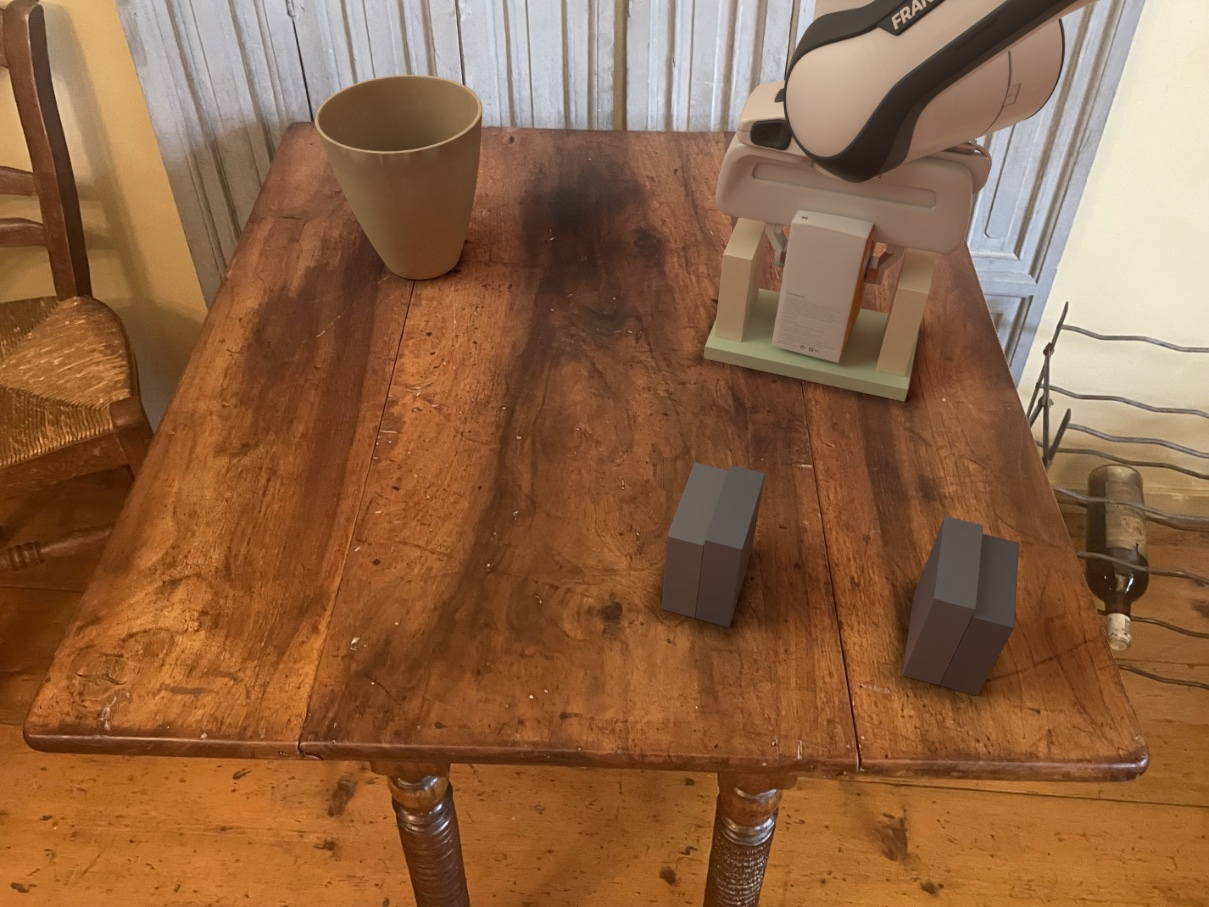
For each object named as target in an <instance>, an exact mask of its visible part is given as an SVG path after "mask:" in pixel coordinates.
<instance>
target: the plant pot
mask: <svg viewBox="0 0 1209 907" xmlns="http://www.w3.org/2000/svg"><path fill="white" fill-rule="evenodd" d="M314 124H315V128H316V130H317V133H318V135H319V138H320V141H321V143H322V147H323V148H324V151H325V154H326V156H327V159H328V161H329V164H330V166H331V168H332V172H333V174H334V176H335V178H336V180H337V183H338V185H339V187H340V189H341V191H342V193H343V195H344V197H345V199H346V202H347V204H348V205H349V207H350V209H351V211H352V213H353V214H354V216H355V218H356V220H357V222H358V224H359V225H360V227H361V229H362V230H363V232H364V234H365V236H366V237H367V239H368V241H369V242H370V243H371V245H372V247H373V248H374V250H375V252H377V254H378V256H379V257H380V258H381V260H382V261H383V263H384V264H385V266H386V267H387V268H388V270H389V271H390V272H391V273H392V274H394V275H396V276H398V277H400V278H404V279H407V280H408V279H409V280H417V281H418V280H430V279H435V278H438V277H441V276H442V275H445V274H446V273H448V272H450V271H451V270H452V269H454V268H455V266H456V265H457V264H458V262H459V260H460V257H461V255H462V254H461V253H462V250H463V247H464V244H465V241H466V236H467V234H468V229H469V225H470V221H471V216H472V212H473V207H474V202H475V196H476V190H477V184H478V175H479V170H480V169H479V168H480V157H481V156H480V155H481V147H482V146H481V145H482V143H481V142H482V125H483V103H482V101H481V99H480V97H479V95H477V94H476V92H475V91H473V90H472V89H471V88H469V87H468V86H467V85H465V84H464V83H463V84H462V83H460V82H458V81H456V80H453V79H448V78H445V77H440V76H435V75H434V76H433V75H424V74H396V75H395V74H394V75H387V76H381V77H375V78H371V79H367V80H362V81H360V82H357V83H354V84H352V85H349V86H346V87H344V88H342V89H340V90H339V91H336V92H335V93H333V94H332V95H331V96H329V97H327V98H326V100H324V101H323V102H322V103H321V105H320V106H319V107H318V109H317V111H316V113H315V116H314Z"/></svg>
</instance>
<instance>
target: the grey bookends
mask: <svg viewBox="0 0 1209 907" xmlns="http://www.w3.org/2000/svg"><path fill="white" fill-rule="evenodd" d="M765 478H766V472H761V471H758V470H753V469H749V468H745V467H742V466H741V467H740V466H737V465H732V464H730V465H729V467H728V469H724V468H720V467H716V466H712V465H709V464H708V465H707V464H703V463H699V462H693V466H692V468H691V471H690V473H689V476H688V478H687V481H686V484H685V487H684V489H683V492H682V495H681V497H680V500H679V503H678V506H677V508H676V511H675V514H674V516H673V519H672V521H671V524H670V526H669V527H670V528H669V530H668V533H667V537H666V546H665V547H666V548H665V549H666V550H665V560H664V574H663V588H662V598H661V600H662V601H661V610H663V611H667V612H671V613H674V614H678V615H680V616H681V615H682V616H684V617H688V618H693V619H696V620H700V621H703V622H707V623H711V624H715V625H718V626H721V627H724V628H728V629H729V628H731V624H732V620H733V617H734V614H735V610H736V607H737V603H738V600H739V597H740V594H741V591H742V586H743V583H744V579H745V577H746V573H747V570H748V566H749V563H750V560H751V556H752V550H753V545H754V540H755V535H756V530H757V529H756V528H757V523H758V517H759V513H760V512H759V511H760V506H761V501H762V495H763V488H764V483H765ZM983 532H984V525H983V524H980V523H977V522H972V521H967V520H963V519H959V518H955V517H951V516H947V515H944V517H943V518H942V521H941V524H940V526H939V529H938V532H937V534H936V536H935V539H934V542H933V544H932V547H931V548H930V549H931V550H930V552H929V555H928V557H927V560H926V562H925V565H924V568H923V570H922V572H921V574H920V578H919V580H918V583H917V585H916V588H915V590H914V593H913V597H912V604H911V609H910V611H911V612H910V617H909V623H908V630H907V636H906V645H905V651H904V657H903V658H904V659H903V666H902V673H901V676H903V677H907V678H910V679H914V680H917V681H921V682H924V683H927V684H932V685H936V686H940V687H943V688H946V689H950V690H953V691H957V692H962V693H966V694H969V695H971V696H975V697H976V696H977V697H978V696H979V695H980V692H981V691H982V689H983V687H984V685H985V683H986V681H987V679H988V677H989V676H990V674H991V672H992V670H993V668H994V666H995V664H996V663H997V661H998V659H999V657H1000V656H1001V653H1002V651H1003V650H1004V648H1005V646H1006V644H1007V642H1008V640H1009V638H1010V637H1011V635H1012V633H1013V631H1014V629H1015V624H1016V606H1017V587H1018V570H1019V569H1018V568H1019V553H1020V542H1019V541H1014V540H1011V539H1007V538H1003V537H997V536H993V535H989V534H987V533H986V534H985V533H983Z"/></svg>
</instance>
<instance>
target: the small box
mask: <svg viewBox="0 0 1209 907" xmlns="http://www.w3.org/2000/svg"><path fill="white" fill-rule="evenodd" d="M874 227H875V224H874V223H871V222H867V221H862V220H857V219H852V218H847V217H842V216H836V215H830V214H824V213H818V212H811V211H802V210H799V211H798V210H797V212H796V214H795V216H794V218H793V220H792V223H791V227H790V229H789V230H790V231H789V235H788V240H789V241H788V247H787V254H786V259H785V265H784V267H783V272H782V279H781V285H780V291H779V292H780V298H779V304H778V310H777V316H776V321H775V327H774V333H773V339H772V346H775V347H779V348H782V349H786V350H790V351H794V352H797V353H801V354H805V355H809V356H813V357H816V358H820V359H825V360H828V361H833V362H836V363H839V362H840V360H841V357H842V354H843V351H844V348H845V346H846V343H847V341H848V338H849V335H850V333H851V331H852V328H853V326H854V324H855V321H856V319H857V317H858V314H859V312H860V308H862V305H863V299H864V294H865V290H866V287H867V284H868V283H867V282H864V279H865V275H866V271H867V266H868V262H869V259H870V256H874V254H875V249H876V245H877V242H873V241H872V237H873V232H874Z"/></svg>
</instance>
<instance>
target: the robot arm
mask: <svg viewBox="0 0 1209 907" xmlns="http://www.w3.org/2000/svg"><path fill="white" fill-rule="evenodd" d="M1100 1H1101V0H815V3H814V11H813V18H812V22H811V23H810V24H809V25H808V27H807V28H806V29H805V31H804V32H803V35H802V36H801V38H800V40H799V42H798V43H797V46H796V48H795V49H794V52H793V55H792V57H791V59H790V62H789V65H788V68H787V72H786V76H785V79H783V80H776V81H770V82H764V83H761V84H758V85H757V86H756V87H755V88H754V89H753V90H752V92H751V93H750V95H749V96H748V97H747V99H746V101H745V102H744V104H743V107H742V109H741V111H740V113H739V117H738V121H737V125H736V126H737V127H736V132H735V134H734V136H733V137H732V139H731V141H730V144H729V146H728V148H727V150H726V153H725V155H724V157H723V159H722V163H721V167H720V169H719V170H720V171H719V173H718V174H719V175H718V178H717V183H716V188H715V189H716V190H715V198H714V202H715V205H716V206H717V208H718V210H719V211H720V212H721V213H722V214H723V215H724V216H728V217H734V218H739V217H740V218H745V219H751V220H756V221H762V222H766V227H765V233H766V235H767V237H766V238H768V240H769V242H770V245H771V246H772V249H773V250H774V256H773V257H774V259H773V266H778V267H781V268H784V265H785V259H786V254H787V247H788V241H789V239H788V238H787V236H786V234H785V231H784V228H785V227H790V228H791V223H792V220H793V218H794V216H795V214H796V212H797V210H798V211H799V210H802V211H811V212H818V213H824V214H830V215H836V216H842V217H847V218H852V219H857V220H862V221H867V222H871V223H874V224H875V227H874V232H873V237H872V241H873V242H876V243H880V244H884V245H886V249H885V251H884V252H883V253H881V255H880V256H876V255H873V256H870V259H869V262H868V266H867V271H866V275H865V279H864V282H867V283H866V284H873V285H876V286H882V284H883V279H884V275H885V271H888V269H890V268H891V267H892V266H894V265H895V263H897V262H898V261H899V260H901V259H902V257H904V253H905V249H906V248H912V249H918V250H923V251H929V252H934V253H936V254H941V255H947V256H948V255H952V254H953V253H955V252H957V251H958V250H960V249H961V248H963V247H964V245H965V241H966V237H967V233H968V229H969V225H970V218H971V213H972V206H973V198H974V195H976V194H977V193H979V192H980V191H982V190H983V189H984V187H985V186H986V184H987V182H988V179H989V176H990V173H991V169H992V167H993V160H992V155H991V153H990V152H989V151H988V150H987V148H985V147H984V146H982V145H980V144H978V140H977V139H979V138H982V137H984V136H987V135H991V134H993V133H996V132H999V131H1001V130H1004V129H1007V128H1009V127H1013V126H1014V125H1017V124H1018V123H1021V122H1023V121H1026V120H1028V119H1030V118H1032V117H1033V116H1035V115H1036V114H1037V113H1039V112H1041V110H1043V108H1044V107H1045V106H1046V104H1047V103H1048V101H1050V99H1051V97H1052V96H1053V95H1054V92H1055V90H1056V88H1057V85H1058V84H1059V81H1060V78H1061V75H1062V72H1063V67H1064V63H1065V56H1066V34H1065V27H1064V23H1063V18H1064V17H1065V16H1067V15H1070V14H1072V13H1074V12H1076V11H1078V10H1081V9H1083V8H1085V7H1088V6H1090V5H1092V4H1095V3H1097V2H1100Z"/></svg>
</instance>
